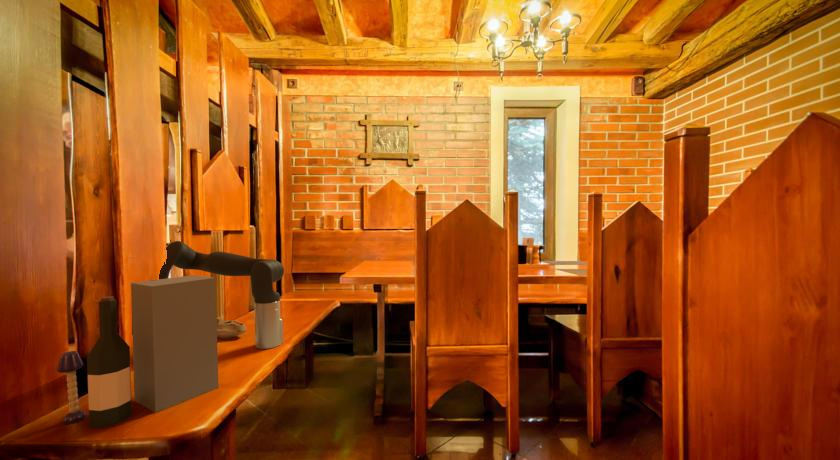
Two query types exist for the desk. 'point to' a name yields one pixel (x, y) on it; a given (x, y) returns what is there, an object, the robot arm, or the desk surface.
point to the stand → (174, 340)
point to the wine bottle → (109, 372)
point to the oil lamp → (229, 328)
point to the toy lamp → (71, 384)
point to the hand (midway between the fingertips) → (169, 291)
